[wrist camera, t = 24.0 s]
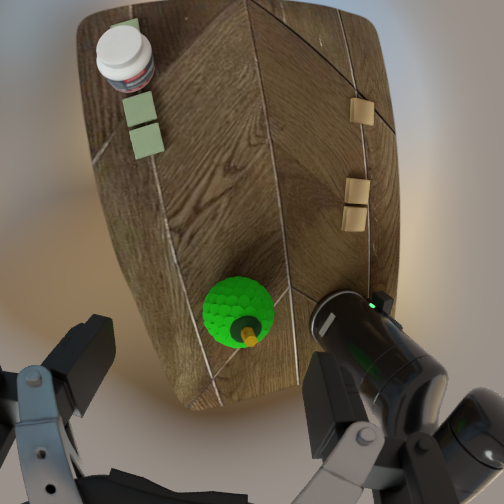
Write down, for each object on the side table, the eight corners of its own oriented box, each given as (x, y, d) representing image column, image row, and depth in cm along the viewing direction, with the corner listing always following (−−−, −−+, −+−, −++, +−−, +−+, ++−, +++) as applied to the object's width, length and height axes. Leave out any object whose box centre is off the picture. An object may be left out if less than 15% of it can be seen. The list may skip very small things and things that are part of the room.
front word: (138, 21, 24) (137, 17, 23) (165, 150, 30) (164, 150, 29) (111, 29, 23) (110, 25, 22) (137, 159, 29) (135, 159, 28)
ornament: (261, 261, 37) (290, 297, 28) (263, 317, 40) (290, 363, 30) (195, 271, 35) (203, 313, 26) (203, 328, 38) (215, 378, 29)
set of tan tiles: (370, 103, 34) (374, 102, 33) (360, 229, 39) (364, 231, 38) (350, 98, 33) (354, 97, 32) (341, 229, 38) (345, 231, 37)
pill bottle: (134, 101, 27) (120, 83, 19) (99, 79, 25) (76, 56, 17) (164, 64, 27) (162, 35, 18) (130, 43, 25) (117, 10, 16)
